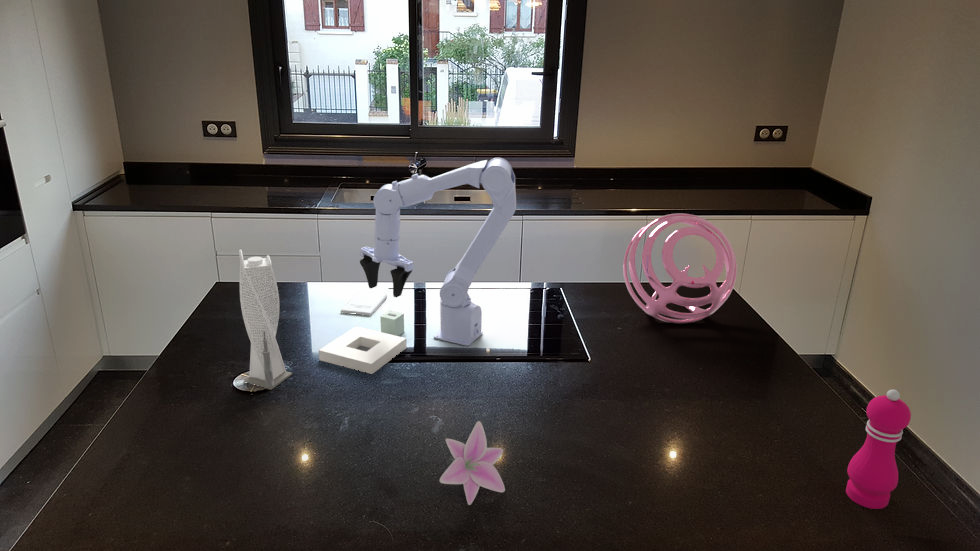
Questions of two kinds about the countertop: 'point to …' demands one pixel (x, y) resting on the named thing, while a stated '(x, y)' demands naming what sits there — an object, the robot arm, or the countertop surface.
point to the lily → (473, 464)
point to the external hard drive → (364, 303)
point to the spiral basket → (680, 277)
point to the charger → (392, 323)
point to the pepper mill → (878, 452)
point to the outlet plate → (362, 349)
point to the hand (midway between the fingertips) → (385, 291)
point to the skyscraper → (261, 321)
